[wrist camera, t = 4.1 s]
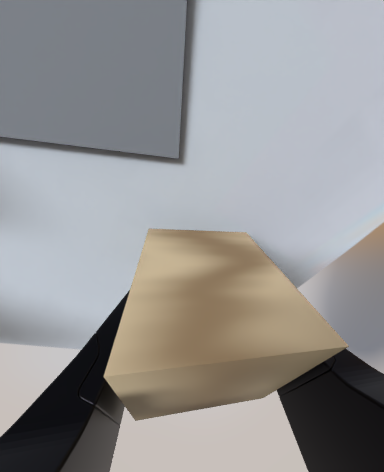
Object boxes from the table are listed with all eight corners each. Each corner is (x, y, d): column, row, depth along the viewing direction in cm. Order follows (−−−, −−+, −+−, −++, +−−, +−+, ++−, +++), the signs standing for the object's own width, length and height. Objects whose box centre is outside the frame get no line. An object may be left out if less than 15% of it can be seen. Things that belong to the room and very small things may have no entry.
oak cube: (246, 232, 9) (348, 346, 4) (224, 292, 12) (262, 398, 7) (148, 228, 8) (103, 376, 3) (152, 294, 11) (135, 420, 6)
